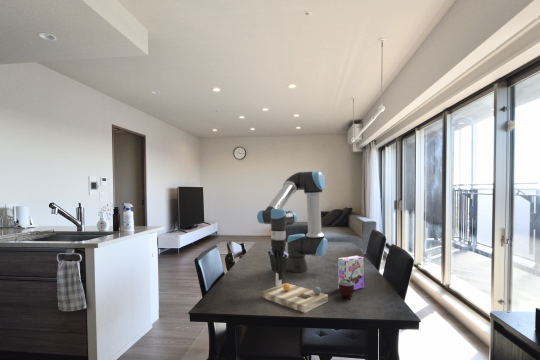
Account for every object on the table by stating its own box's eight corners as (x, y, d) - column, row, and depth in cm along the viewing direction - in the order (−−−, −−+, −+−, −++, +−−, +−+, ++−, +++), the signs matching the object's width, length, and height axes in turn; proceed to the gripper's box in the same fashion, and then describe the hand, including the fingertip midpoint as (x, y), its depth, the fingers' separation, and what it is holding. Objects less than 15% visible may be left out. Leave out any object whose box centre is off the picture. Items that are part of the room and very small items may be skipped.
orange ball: (281, 290, 142) (281, 283, 143) (286, 289, 145) (286, 281, 145) (287, 292, 140) (287, 285, 140) (291, 290, 143) (291, 283, 143)
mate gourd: (336, 296, 143) (335, 265, 144) (349, 293, 146) (348, 263, 147) (345, 301, 136) (345, 269, 137) (359, 298, 139) (358, 267, 140)
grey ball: (312, 294, 137) (311, 286, 137) (316, 292, 140) (316, 285, 140) (318, 296, 134) (318, 288, 135) (322, 294, 137) (322, 286, 137)
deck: (262, 297, 142) (262, 291, 142) (286, 288, 154) (286, 282, 155) (304, 313, 123) (304, 305, 124) (328, 301, 136) (328, 294, 136)
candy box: (345, 292, 148) (344, 260, 149) (337, 288, 154) (337, 257, 154) (365, 288, 155) (364, 257, 155) (357, 284, 160) (356, 255, 161)
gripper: (264, 238, 149) (264, 284, 148) (282, 241, 140) (283, 290, 139) (274, 236, 154) (274, 281, 153) (292, 239, 145) (293, 286, 144)
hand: (278, 285), depth 146 cm, fingers closed
